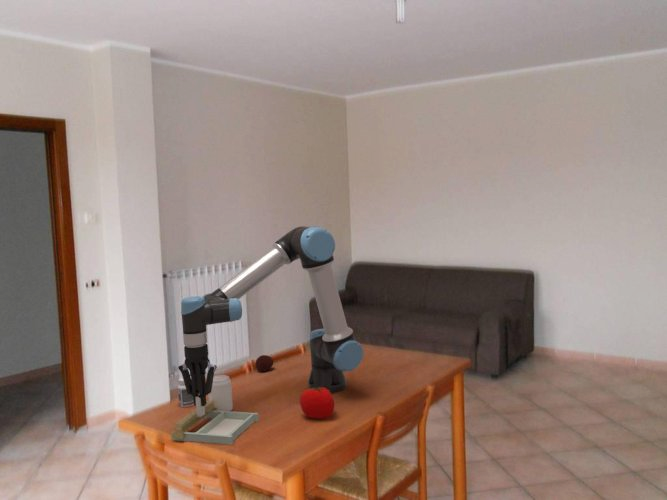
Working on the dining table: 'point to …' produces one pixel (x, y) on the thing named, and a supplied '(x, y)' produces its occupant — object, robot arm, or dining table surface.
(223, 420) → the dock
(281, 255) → the robot arm
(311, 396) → the tomato
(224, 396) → the grey cylindrical container
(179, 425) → the bar
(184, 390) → the pill bottle
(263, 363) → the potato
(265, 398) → the dining table surface
